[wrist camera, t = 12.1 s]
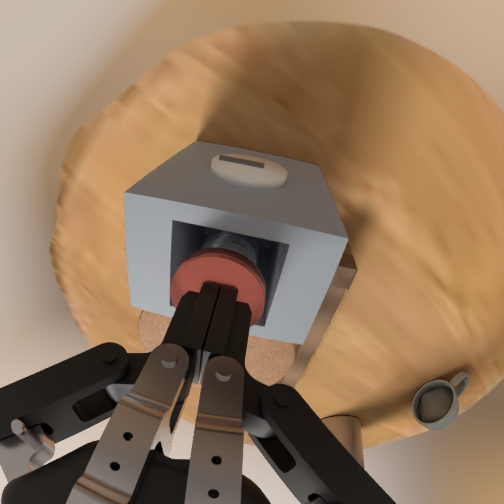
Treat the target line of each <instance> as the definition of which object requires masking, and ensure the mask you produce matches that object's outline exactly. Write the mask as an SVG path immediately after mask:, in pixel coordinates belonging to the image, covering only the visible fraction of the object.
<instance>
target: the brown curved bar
mask: <svg viewBox="0 0 504 504" xmlns="http://www.w3.org/2000/svg"><path fill="white" fill-rule="evenodd" d="M356 272H357V267H356V264H355V261H354V258H353V255H352V252H351V249H350V247H349V244H348V242H347V244H346V247H345V249H344V252H343V254H342V257H341V259H340V262H339V264H338V267H337V269H336V272H335V274H334V276H333V279H332V281H331V283H330V286H329V288H328V290H327V293H326V295H325V297H324V299H323V302H322V304H321V306H320V308H319V311H318V313H317V315H316V317H315V319H314V322H313V324H312V326H311V328H310V330H309V332H308V334H307V336H306V338H305V341H304V343H303V345H301V344H296V356H295V360H294V363H293V365H292V367H291V369H290V371H289V372H288V373H287V374H286V375H285V376H284V377H283V378H282V379H281V380H279V381H278V382H277V383H275V384H286V385H289V386H291V387H293V388H294V387H295V385H296V383H297V382H298V380H299V378H300V377H301V375H302V373H303V371H304V370H305V368H306V366H307V364H308V363H309V361H310V359H311V357H312V355H313V354H314V352H315V350H316V348H317V346H318V344H319V342H320V341H321V339H322V337H323V335H324V333H325V331H326V329H327V327H328V325H329V323H330V321H331V319H332V317H333V315H334V313H335V311H336V309H337V307H338V305H339V303H340V301H341V299H342V297H343V295H344V293H345V291H346V289H347V290H349V287H350V285H351V283H352V281H353V279H354V277H355V275H356Z"/></svg>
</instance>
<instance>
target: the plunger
mask: <svg viewBox="0 0 504 504" xmlns="http://www.w3.org/2000/svg"><path fill="white" fill-rule="evenodd" d="M259 245H260V238H258V237H253V236H248V235H243V234H239V233H234V232H229V231H224V230H220V229H215V228H211V229H210V232H209V234H208V236H207V238H206V240H205V242H204V244H203V247H202V249H200V250H197V251H195V252H193V253H191V254H189V255H188V256H187V257H186V258H185V259H184V260H183V261H182V262H181V264H180V265H179V267H178V269H177V271H176V273H175V275H174V277H173V279H172V281H171V285H170V297H171V300H172V303H173V305H174V307H175V309H176V308H177V305H178V303H179V301H180V298H181V297H182V296H183V295H184V294H185V293H187V292H188V291H189V290H190V291H194V292H198V293H199V292H200V289H201V287H202V284H203V282H209V283H213V284H218V285H220V290H221V287H222V285H223V286H227V287H232V288H237V289H238V294H237V299H236V301H239V302H244V303H248V304H249V306H250V309H251V312H252V316H251V323H250V327H252V326H253V325H254V324H255V323H256V322H257V321H258V320H259V319H260V317H261V316H262V313H263V311H264V305H265V295H266V284H265V280H264V277H263V275H262V273H261V271H260V270H259V268H258V267H257V266H256V265H257V259H258V252H259ZM219 294H220V293H219Z"/></svg>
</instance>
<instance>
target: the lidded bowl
mask: <svg viewBox="0 0 504 504" xmlns="http://www.w3.org/2000/svg"><path fill="white" fill-rule="evenodd" d="M171 320H172V318H171V317H167V316H163V315H160V314H156V313H152V312H148V311H145V310H142V312H141V314H140V317H139V320H138V335H139V338H140V342H141V344H142V346H143V348H144V350H145V352H146V353H148V352H151V351H153V349H154V348H156V347H157V346H159V345H160V344H161V343H162V341H163V339H164V336H165V334H166V331H167V329H168V327H169V324H170V322H171ZM295 356H296V344H295V343H289V342H283V341H278V340H272V339H266V338H261V337H256V336H251V335H249V337H248V344H247V350H246V357H245V367H246V369H247V371H248V373H249V374H250V375H251V376H252V377H253V378H254V379H256V380H257V381H259V382H261V383H263V384H266V385H268V386H270V385H273V384H275V383H277V382H278V381H279V380H281V379H282V378H283V377H284V376H285V375H286V374H287V373H288V372H289V371H290V369H291V367H292V365H293V363H294V360H295ZM200 376H201V374H200ZM191 386H193V387H196V388H199V389H201V386H202V385H200V378H199V381H198V384H195V383H192V385H191Z"/></svg>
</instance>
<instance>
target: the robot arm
mask: <svg viewBox="0 0 504 504" xmlns="http://www.w3.org/2000/svg"><path fill="white" fill-rule="evenodd" d="M219 293H220V294H219ZM237 294H238V289H237V288H232V287H227V286H223V285H222V287H221V290H220V285H218V284H213V283H209V282H203V284H202V287H201V289H200V292H199V293H198V292H194V291H190V290H189V291H188V292H187V293H185V294H184V295H183V296H182V297H181V298H180V301H179V303H178V305H177V308H176V310H175V312H174V315H173V317H172V320H171V322H170V324H169V327H168V329H167V331H166V334H165V336H164V339H163V341H162V343H161V344H160V345H159V346H157V347H156V348H154V349H153V351H151V352H148V353H127V352H126V350H125V349H124V348H123V347H122V346H121V345H119V344H117V343H112V342H107V343H103V344H100V345H98V346H96V347H94V348H91V349H89V350H87V351H85V352H83V353H80V354H78V355H76V356H74V357H71V358H69V359H67V360H64V361H62V362H60V363H58V364H55V365H53V366H51V367H49V368H46V369H44V370H42V371H40V372H37V373H35V374H33V375H30V376H28V377H25V378H23V379H21V380H18V381H16V382H14V383H11V384H9V385H7V386H5V387H2V388H0V465H1V467H2V469H3V472H4V474H5V476H6V478H7V481H8V484H7V485H6V487H5V488H4V490H3V493H2V499H1V504H271V503H270V502H269V500H268V499H267V498H266V496H265V495H264V493H263V492H262V491H261V489H260V488H259V487H258V486H257V485H256V484H255V483H254V482H253V481H251V480H250V479H249V478H247V477H246V476H244V475H242V463H243V442H244V431H247V432H248V434H249V436H250V438H251V439H252V441H253V442H254V443H255V445H256V446H257V448H258V449H259V450H260V452H261V453H262V454H263V456H264V457H265V459H266V460H267V461H268V463H269V464H270V465H271V467H272V468H273V469H274V471H275V472H276V473H277V474H278V476H279V477H280V478H281V480H282V481H283V482H284V483H285V484H286V486H287V487H288V488H289V489H290V491H291V492H292V493H293V495H294V496H295V497H296V498H297V499H298V501H299V502H300V503H301V504H396V503H395V502H394V501H393V500H392V499H391V497H390V496H389V495H388V494H387V493H386V492H385V491H384V490H383V489H382V488H381V487H380V486H379V485H378V484H377V483H376V482H375V481H374V479H373V478H372V477H371V476H369V474H368V473H367V472H366V471H365V470H364V459H363V447H362V435H361V426H360V421H359V419H357V418H355V417H351V416H335V417H329V418H325V419H322V420H321V419H320V418H319V417H318V416H317V415H316V414H315V412H314V411H313V410H312V409H311V408H310V406H309V405H308V404H307V403H306V402H305V400H304V399H303V398H302V397H301V395H300V394H299V393H298V392H297V391H296V390H295V389H294V388H293V387H291V386H289V385H286V384H273V385H270V386H268V385H266V384H263V383H261V382H259V381H257V380H256V379H254V378H253V377H252V376H251V375H250V374H249V373H248V371H247V369H246V367H245V357H246V350H247V344H248V337H249V330H250V323H251V316H252V312H251V309H250V306H249V304H248V303H244V302H239V301H236V299H237ZM200 374H201V376H200ZM199 378H200V385H202V386H201V392H200V399H199V405H198V412H197V418H196V423H195V429H194V436H193V443H192V450H191V458H190V460H187V459H171V458H169V457H168V456H169V453H170V450H171V446H172V440H173V437H174V434H175V431H176V428H177V425H178V422H179V420H180V417H181V415H182V412H183V409H184V407H185V404H186V401H187V398H188V395H189V392H190V388H191V385H192V383H195V384H198V381H199ZM109 417H111V418H110V420H109V422H108V424H107V426H106V428H105V430H104V432H103V434H102V436H101V438H100V440H97V441H93V442H90V443H87V444H85V445H83V446H81V447H79V448H78V449H76V450H74V451H72V452H70V453H68V454H66V455H64V456H62V457H60V458H58V459H56V460H54V461H52V462H50V463H48V464H46V465H44V466H43V464H44V463H45V462H47V461H48V460H50V459H51V458H52V456H53V455H54V451H55V445H54V444H55V443H58V442H60V441H62V440H64V439H66V438H68V437H70V436H73V435H75V434H77V433H79V432H81V431H83V430H85V429H87V428H89V427H91V426H93V425H95V424H97V423H99V422H101V421H103V420H105V419H107V418H109Z"/></svg>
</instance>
